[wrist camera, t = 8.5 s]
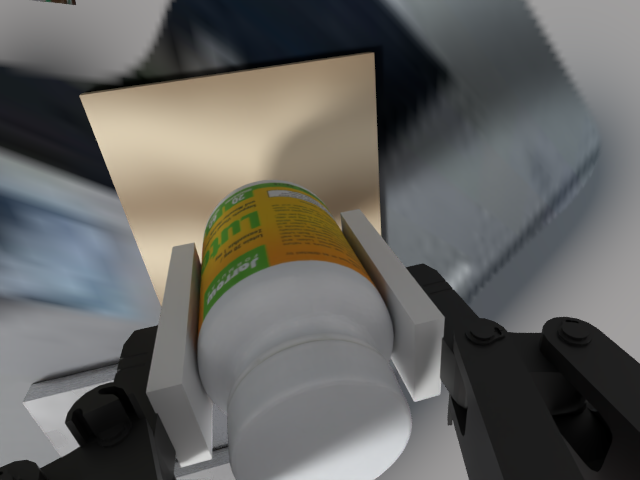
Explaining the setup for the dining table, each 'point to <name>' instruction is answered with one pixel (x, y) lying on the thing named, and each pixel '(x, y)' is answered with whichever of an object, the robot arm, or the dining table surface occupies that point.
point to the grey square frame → (60, 394)
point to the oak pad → (237, 145)
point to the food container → (60, 1)
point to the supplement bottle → (296, 342)
